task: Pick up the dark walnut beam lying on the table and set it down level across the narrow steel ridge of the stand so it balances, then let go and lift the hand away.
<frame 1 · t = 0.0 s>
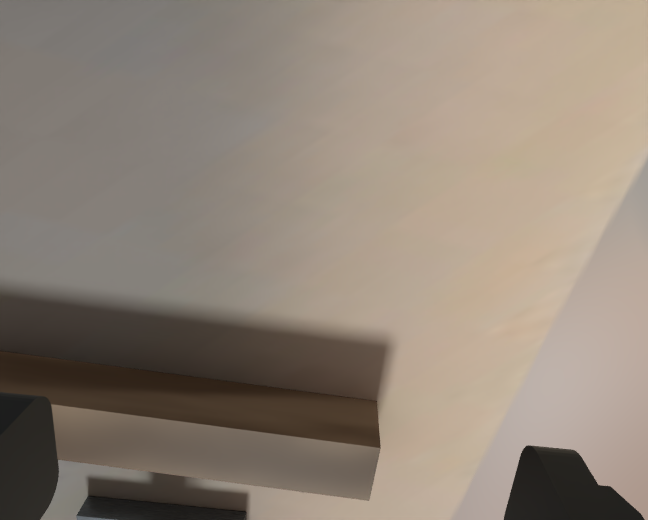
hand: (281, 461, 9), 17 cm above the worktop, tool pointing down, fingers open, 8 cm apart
walnut beam: (182, 397, 30), on the worktop
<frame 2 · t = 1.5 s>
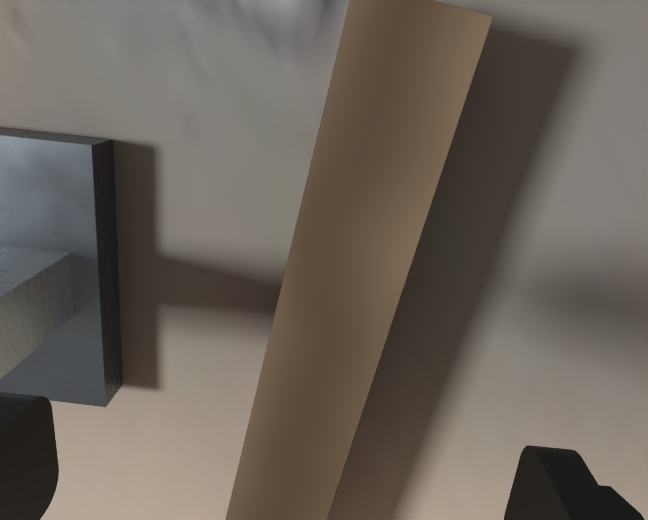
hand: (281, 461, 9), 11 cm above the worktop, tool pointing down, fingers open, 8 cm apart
walnut beam: (324, 316, 20), on the worktop
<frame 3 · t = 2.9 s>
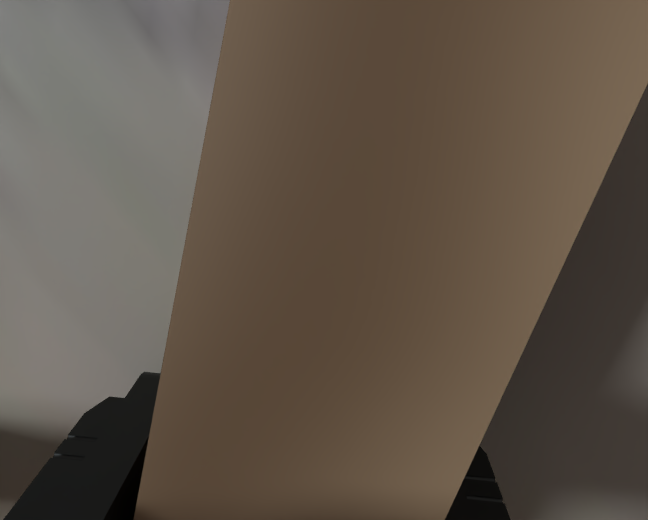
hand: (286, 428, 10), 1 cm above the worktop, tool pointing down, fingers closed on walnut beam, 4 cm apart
walnut beam: (259, 516, 11), on the worktop, touching gripper
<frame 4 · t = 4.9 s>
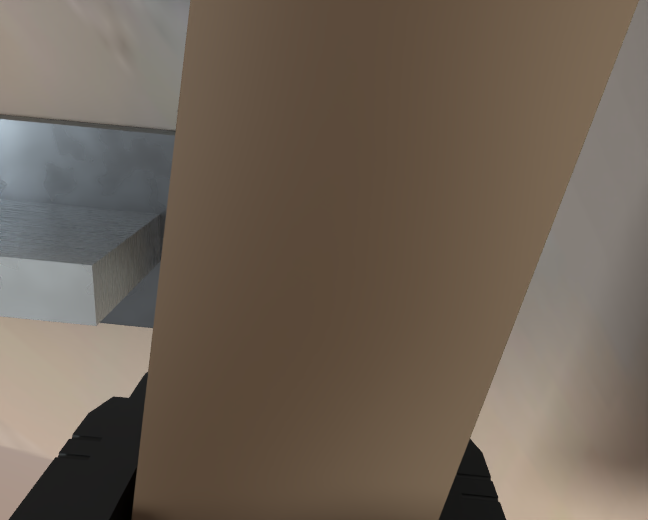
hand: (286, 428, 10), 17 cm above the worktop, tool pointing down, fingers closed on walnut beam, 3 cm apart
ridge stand: (16, 214, 27), on the worktop
walnut beam: (267, 519, 11), point 17 cm above the worktop, touching gripper
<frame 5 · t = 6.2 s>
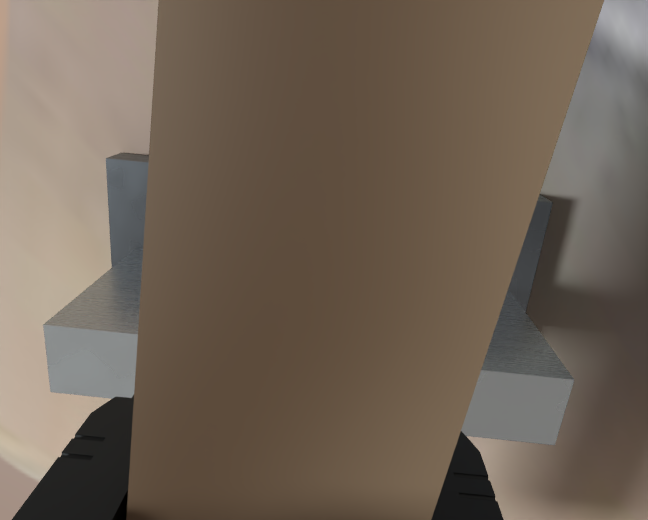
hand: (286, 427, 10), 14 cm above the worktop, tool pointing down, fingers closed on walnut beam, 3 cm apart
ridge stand: (319, 280, 24), on the worktop
walnut beam: (270, 518, 11), point 14 cm above the worktop, touching gripper
when the fingers open (10 cm above the worktop, at t = 7.1 s): walnut beam stays where it is, resting on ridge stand.
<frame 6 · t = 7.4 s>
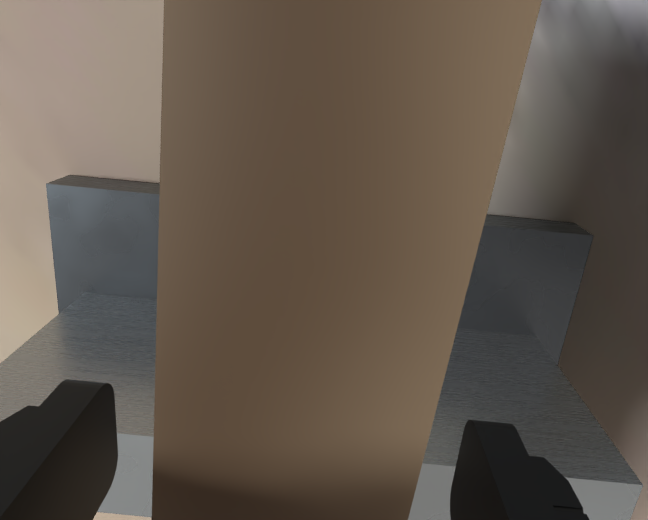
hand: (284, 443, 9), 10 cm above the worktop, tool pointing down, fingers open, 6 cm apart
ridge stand: (309, 324, 20), on the worktop
walnut beam: (284, 486, 12), point 9 cm above the worktop, touching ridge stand
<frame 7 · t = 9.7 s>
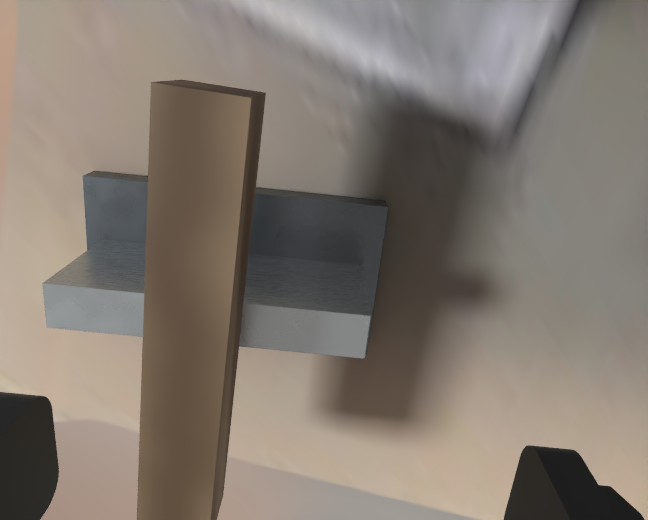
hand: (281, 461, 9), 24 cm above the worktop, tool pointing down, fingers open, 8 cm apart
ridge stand: (237, 261, 34), on the worktop
walnut beam: (206, 318, 26), point 8 cm above the worktop, touching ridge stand
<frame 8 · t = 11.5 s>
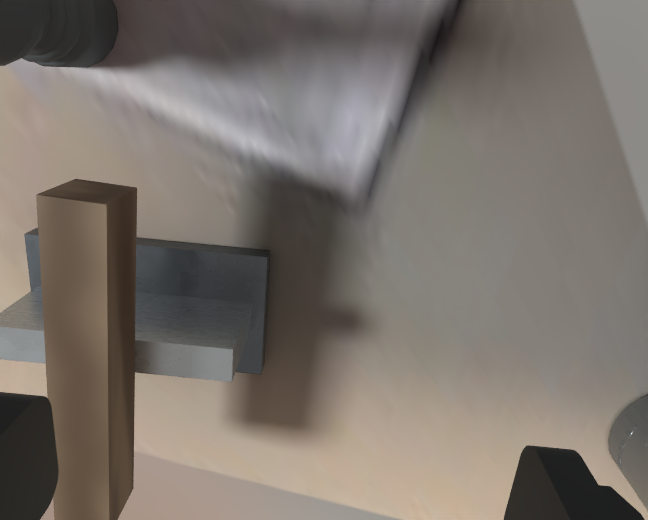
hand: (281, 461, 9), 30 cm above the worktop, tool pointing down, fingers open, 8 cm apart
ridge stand: (154, 299, 41), on the worktop
candle holder: (73, 18, 35), on the worktop
walnut beam: (107, 351, 33), point 8 cm above the worktop, touching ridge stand
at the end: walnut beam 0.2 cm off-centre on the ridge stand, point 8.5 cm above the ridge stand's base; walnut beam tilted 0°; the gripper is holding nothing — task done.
